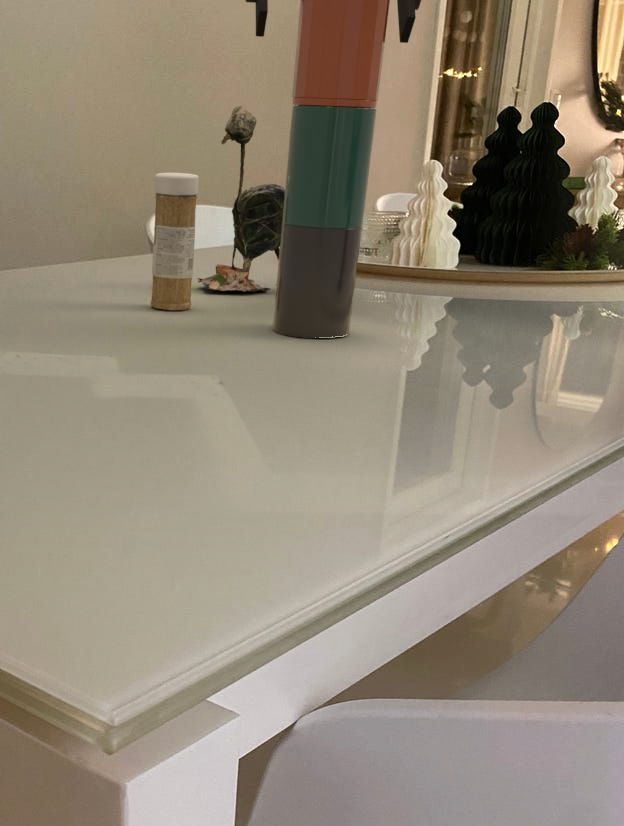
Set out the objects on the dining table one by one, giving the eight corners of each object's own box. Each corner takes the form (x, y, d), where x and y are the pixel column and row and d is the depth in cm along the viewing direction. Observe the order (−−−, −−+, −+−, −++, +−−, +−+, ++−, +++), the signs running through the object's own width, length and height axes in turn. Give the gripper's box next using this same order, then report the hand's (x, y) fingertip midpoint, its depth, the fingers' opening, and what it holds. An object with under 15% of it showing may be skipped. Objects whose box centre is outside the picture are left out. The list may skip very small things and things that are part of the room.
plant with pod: (292, 297, 124) (310, 108, 114) (197, 293, 123) (208, 104, 114) (284, 287, 131) (301, 108, 122) (194, 283, 131) (204, 104, 122)
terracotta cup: (364, 108, 99) (381, -42, 93) (385, 108, 92) (406, -54, 87) (285, 105, 98) (298, -47, 93) (301, 104, 92) (316, -59, 86)
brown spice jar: (162, 302, 117) (168, 171, 111) (199, 307, 115) (206, 174, 109) (142, 308, 113) (147, 172, 107) (179, 313, 111) (186, 175, 105)
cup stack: (339, 325, 108) (364, 108, 99) (357, 339, 101) (386, 108, 92) (266, 323, 107) (285, 105, 98) (280, 338, 101) (301, 104, 91)
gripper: (442, -95, 107) (455, 66, 100) (199, -106, 107) (197, 55, 100) (465, -172, 100) (481, -4, 93) (205, -184, 100) (203, -16, 93)
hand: (334, 27), depth 97 cm, fingers open, 13 cm apart
